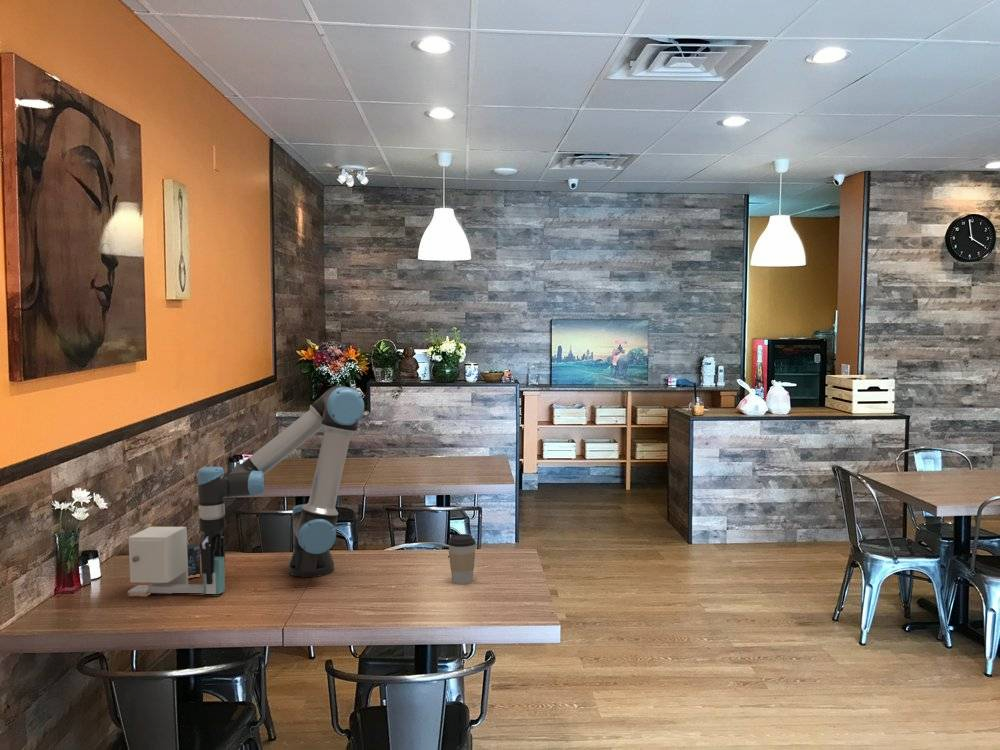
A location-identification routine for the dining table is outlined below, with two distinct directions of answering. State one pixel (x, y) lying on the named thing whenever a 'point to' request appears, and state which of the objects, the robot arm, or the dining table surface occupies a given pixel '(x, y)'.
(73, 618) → the dining table surface
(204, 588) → the hammer tool
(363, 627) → the dining table surface
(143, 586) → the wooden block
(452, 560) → the coffee cup
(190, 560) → the box
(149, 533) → the wall cabinet
